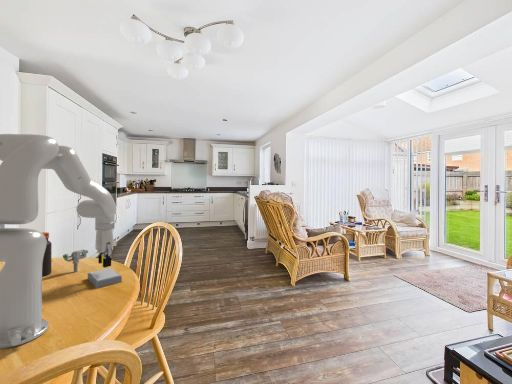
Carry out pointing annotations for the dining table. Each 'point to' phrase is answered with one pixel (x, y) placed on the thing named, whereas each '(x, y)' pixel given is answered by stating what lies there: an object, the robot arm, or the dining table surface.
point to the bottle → (47, 257)
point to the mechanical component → (75, 258)
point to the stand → (104, 277)
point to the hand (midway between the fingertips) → (104, 264)
